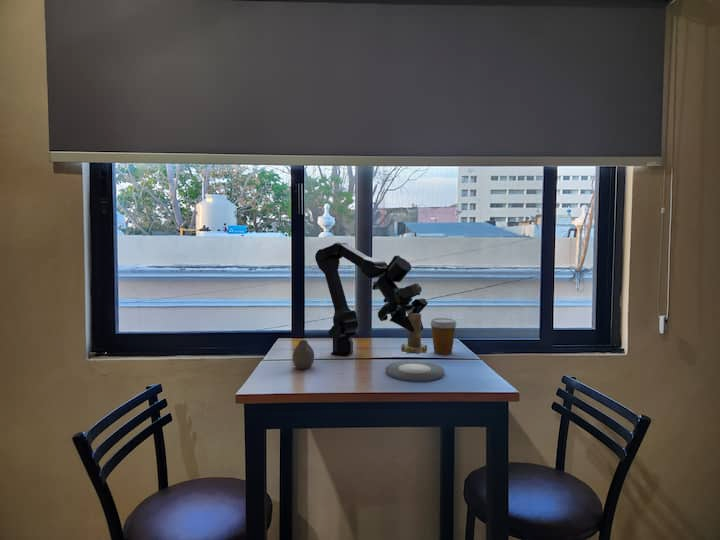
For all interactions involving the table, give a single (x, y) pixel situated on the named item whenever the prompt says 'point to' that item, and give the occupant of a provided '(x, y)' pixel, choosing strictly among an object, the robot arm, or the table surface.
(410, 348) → the gear
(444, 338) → the disposable coffee cup
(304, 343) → the vase
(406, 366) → the disc
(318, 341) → the table surface
